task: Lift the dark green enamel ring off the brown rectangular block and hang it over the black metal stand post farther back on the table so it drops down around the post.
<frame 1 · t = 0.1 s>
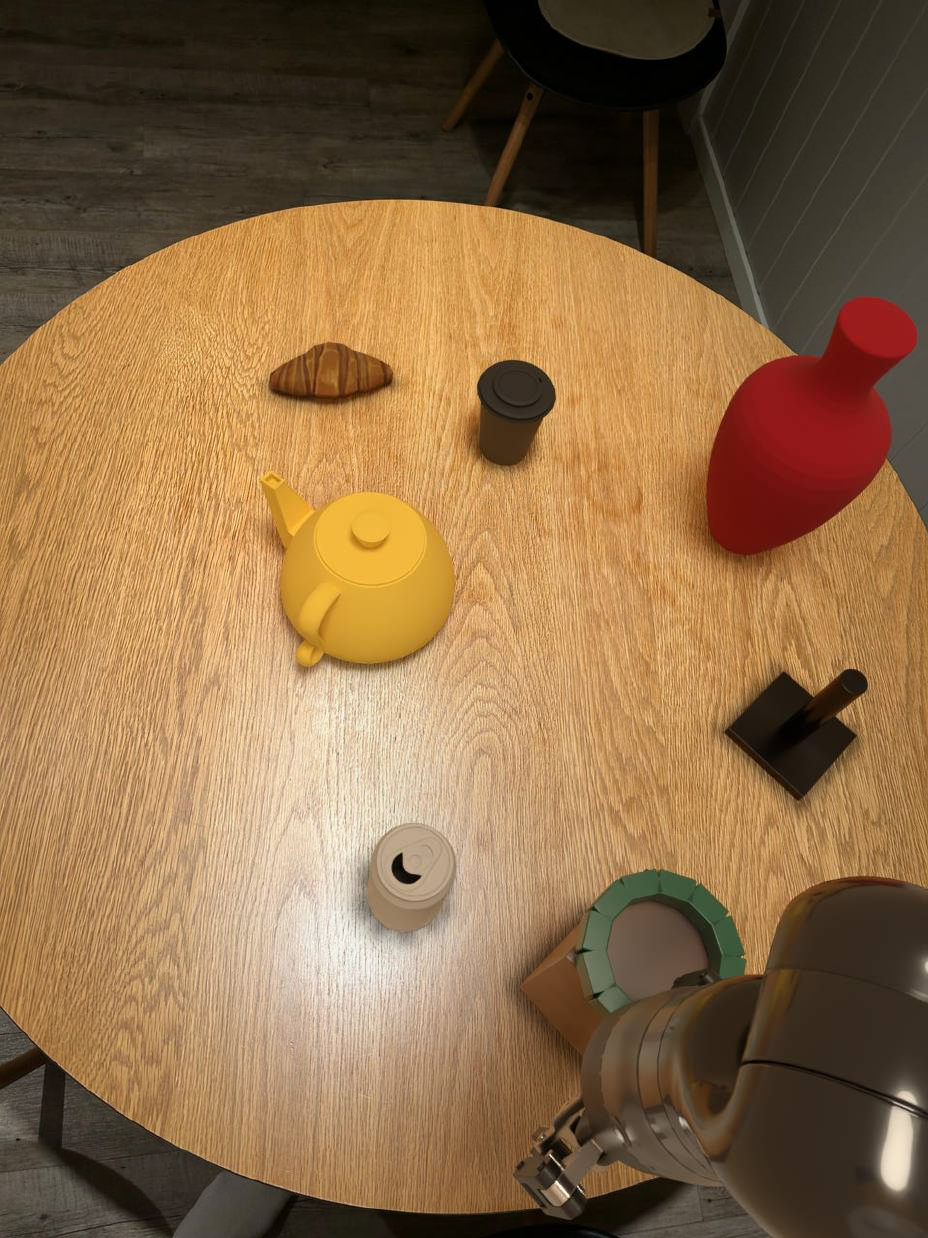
hand: (596, 1088, 55), 20 cm above the table, tool pointing down, fingers open, 8 cm apart
coffee cup: (503, 446, 102), on the table
post: (788, 736, 90), on the table
brown rectangular block: (589, 989, 77), on the table
vase: (737, 530, 101), on the table
beverage can: (404, 894, 79), on the table
croissant: (331, 385, 103), on the table
teapot: (346, 595, 92), on the table
ring: (653, 959, 61), point 18 cm above the table, touching gripper, brown rectangular block
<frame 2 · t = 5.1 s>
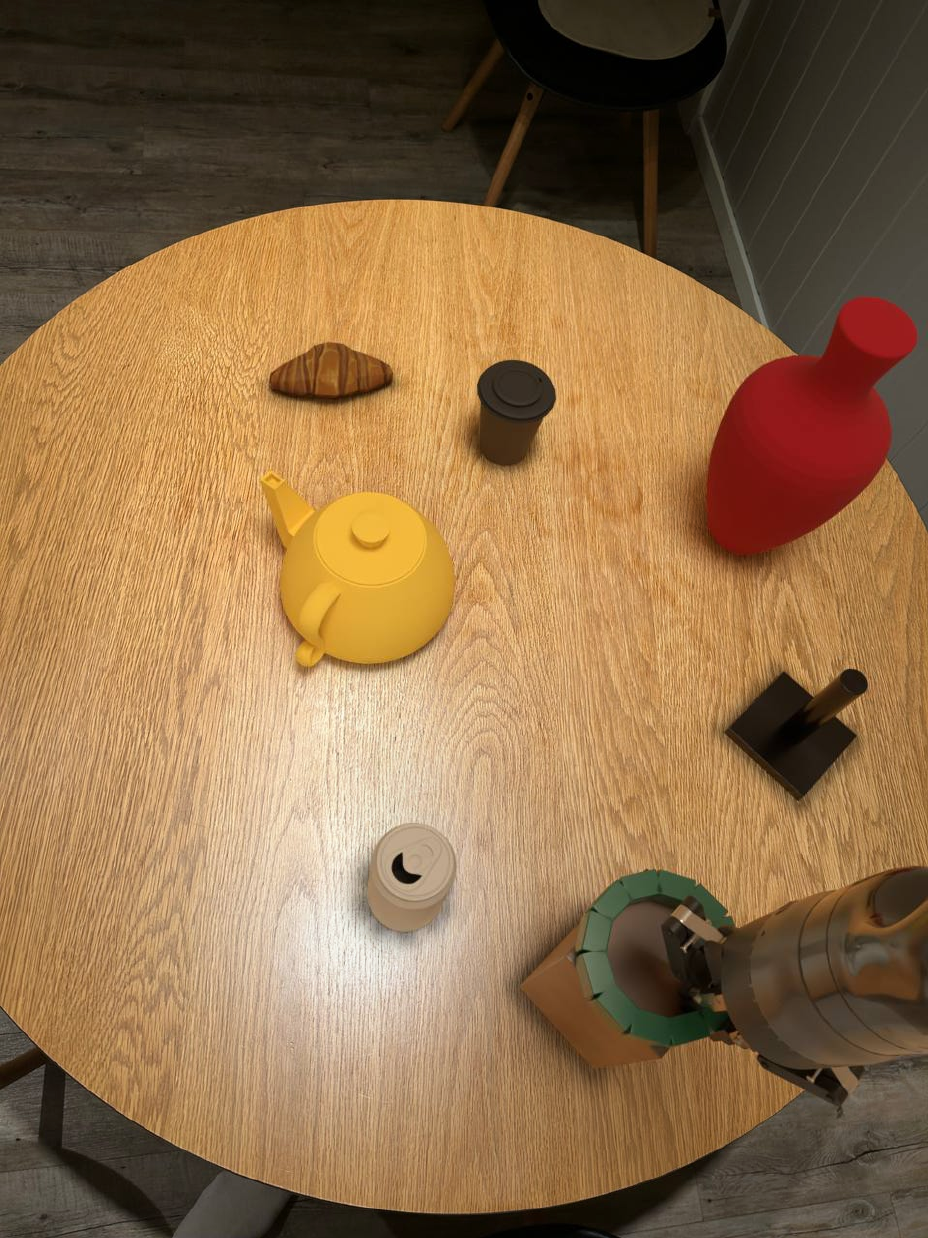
hand: (704, 1011, 60), 18 cm above the table, tool pointing down, fingers closed on ring
ring: (653, 959, 61), point 18 cm above the table, touching gripper
everything else where it was.
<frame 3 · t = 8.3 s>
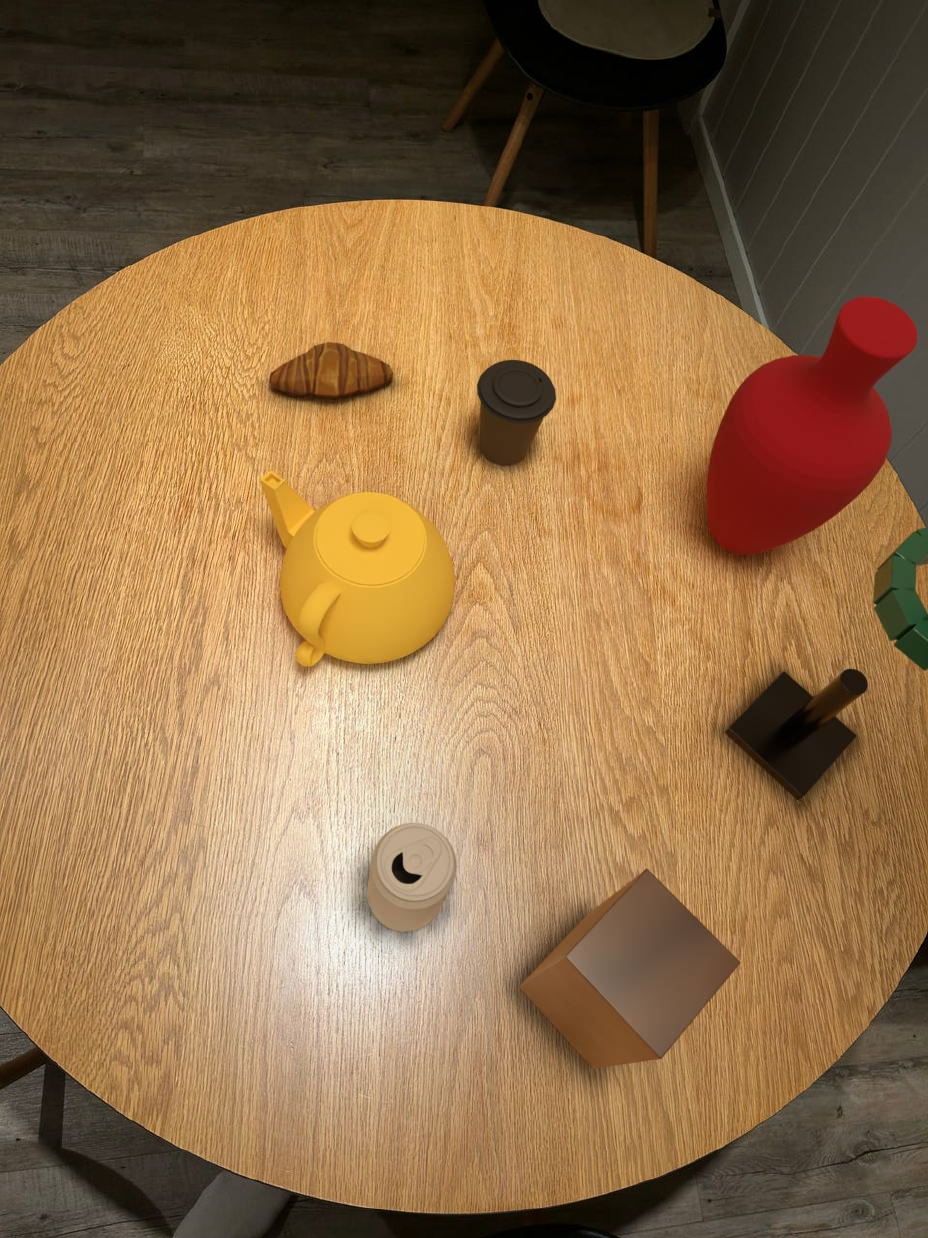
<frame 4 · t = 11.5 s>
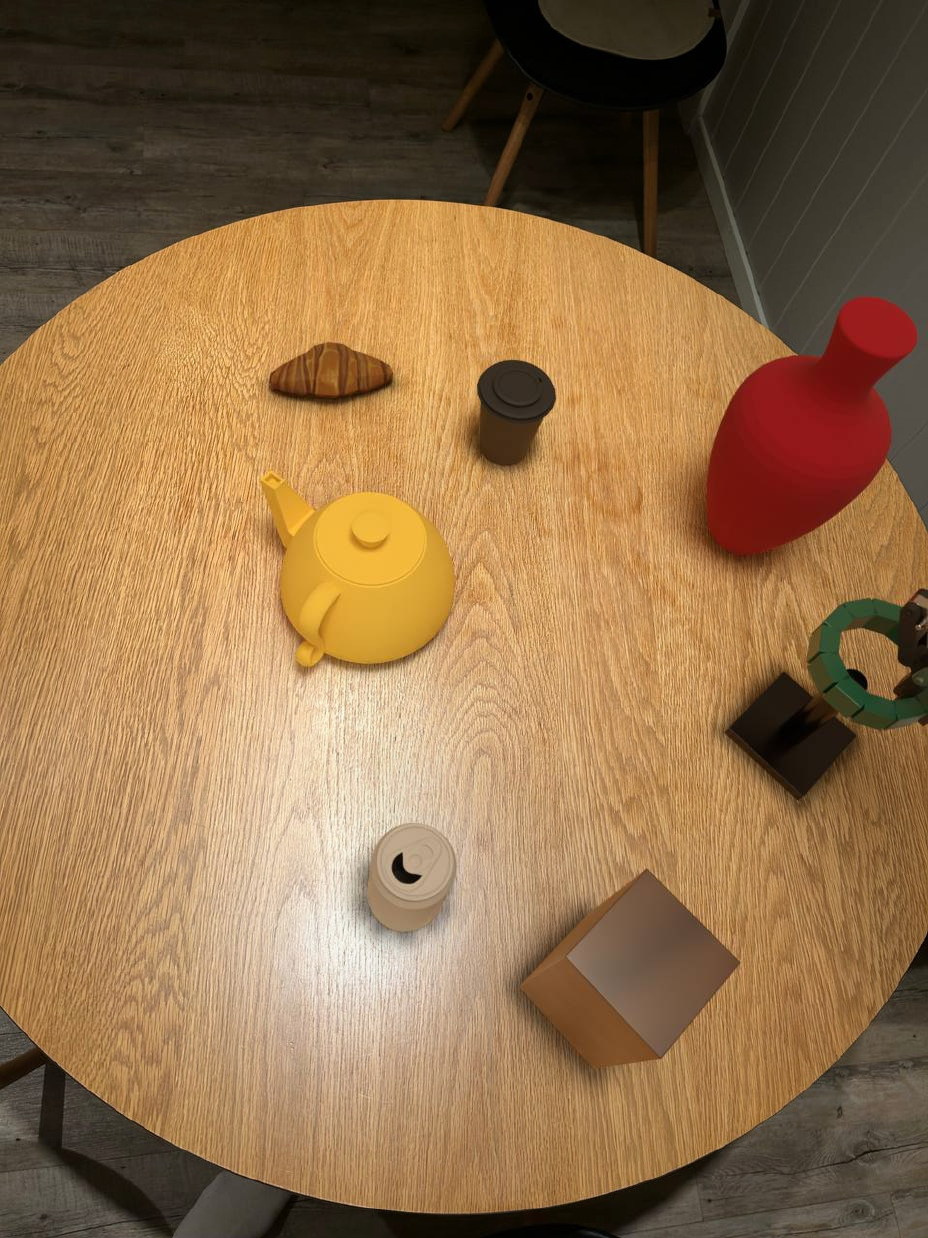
hand: (914, 706, 75), 16 cm above the table, tool pointing down, fingers closed on ring, 1 cm apart
ring: (869, 669, 76), point 16 cm above the table, touching gripper
everything else where it was.
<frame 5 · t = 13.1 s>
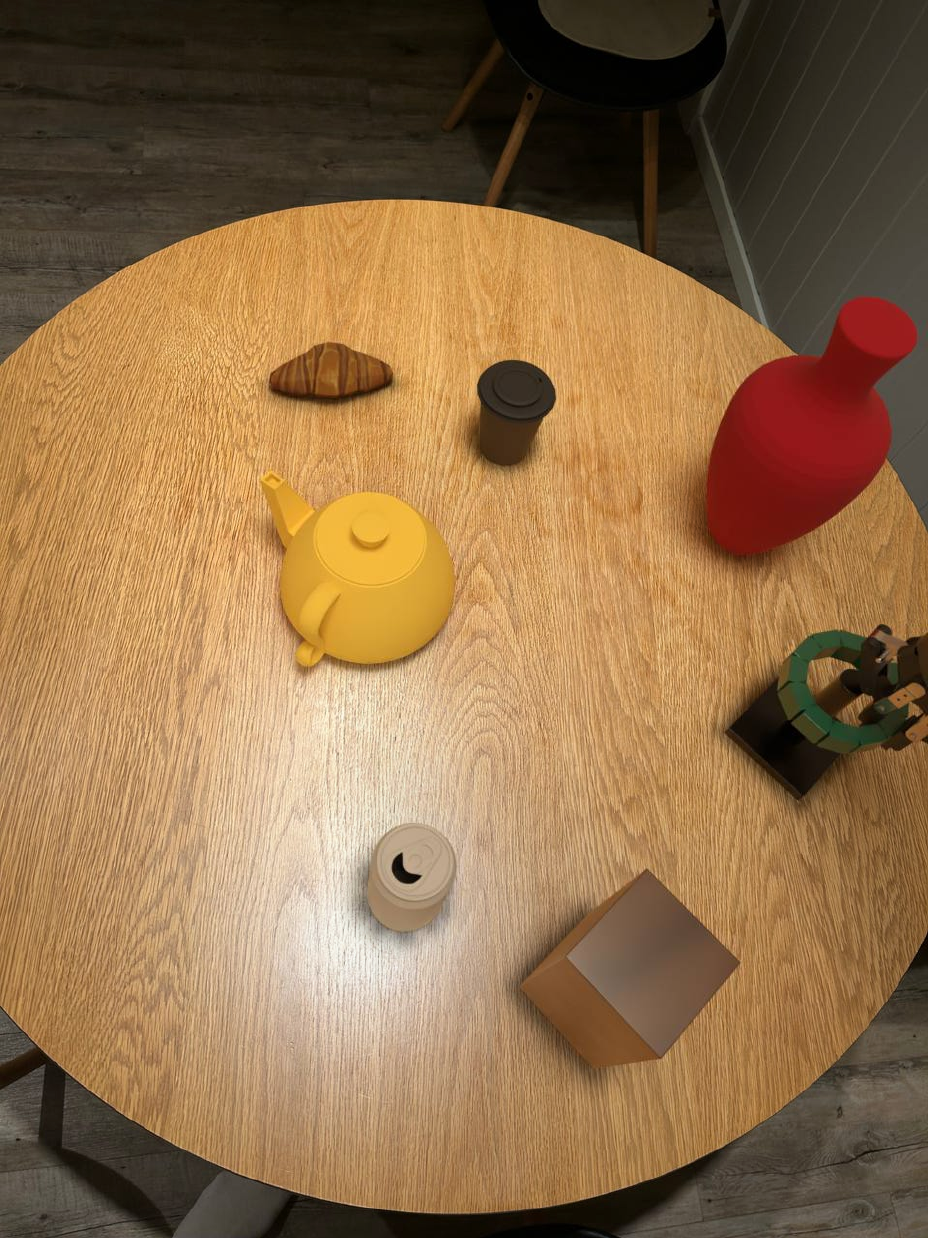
hand: (877, 731, 80), 10 cm above the table, tool pointing down, fingers closed on ring
ring: (836, 696, 81), point 10 cm above the table, touching gripper
everything else where it was.
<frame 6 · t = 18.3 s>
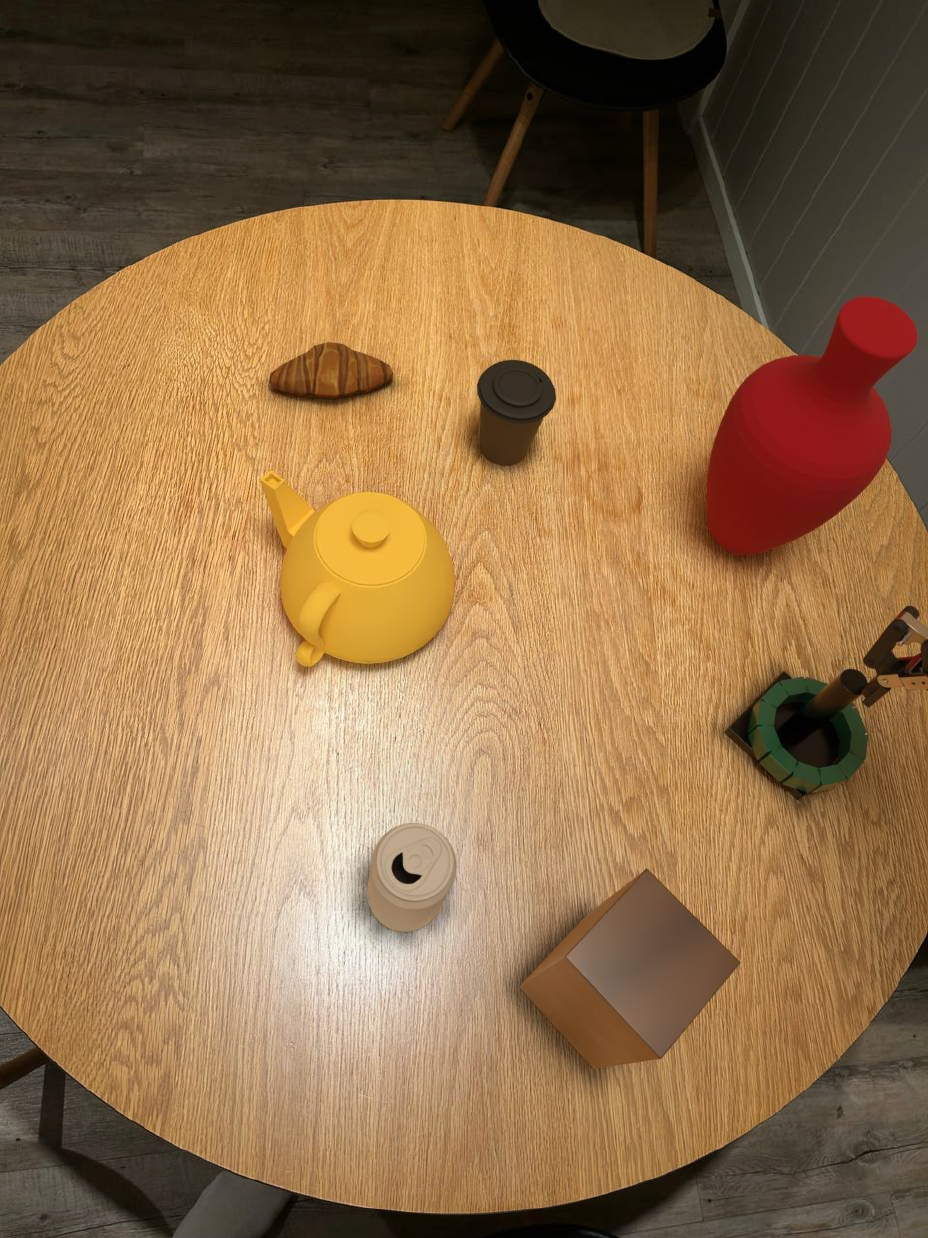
hand: (905, 727, 77), 13 cm above the table, tool pointing down, fingers open, 6 cm apart
ring: (801, 738, 89), point 1 cm above the table, touching post
everything else where it was.
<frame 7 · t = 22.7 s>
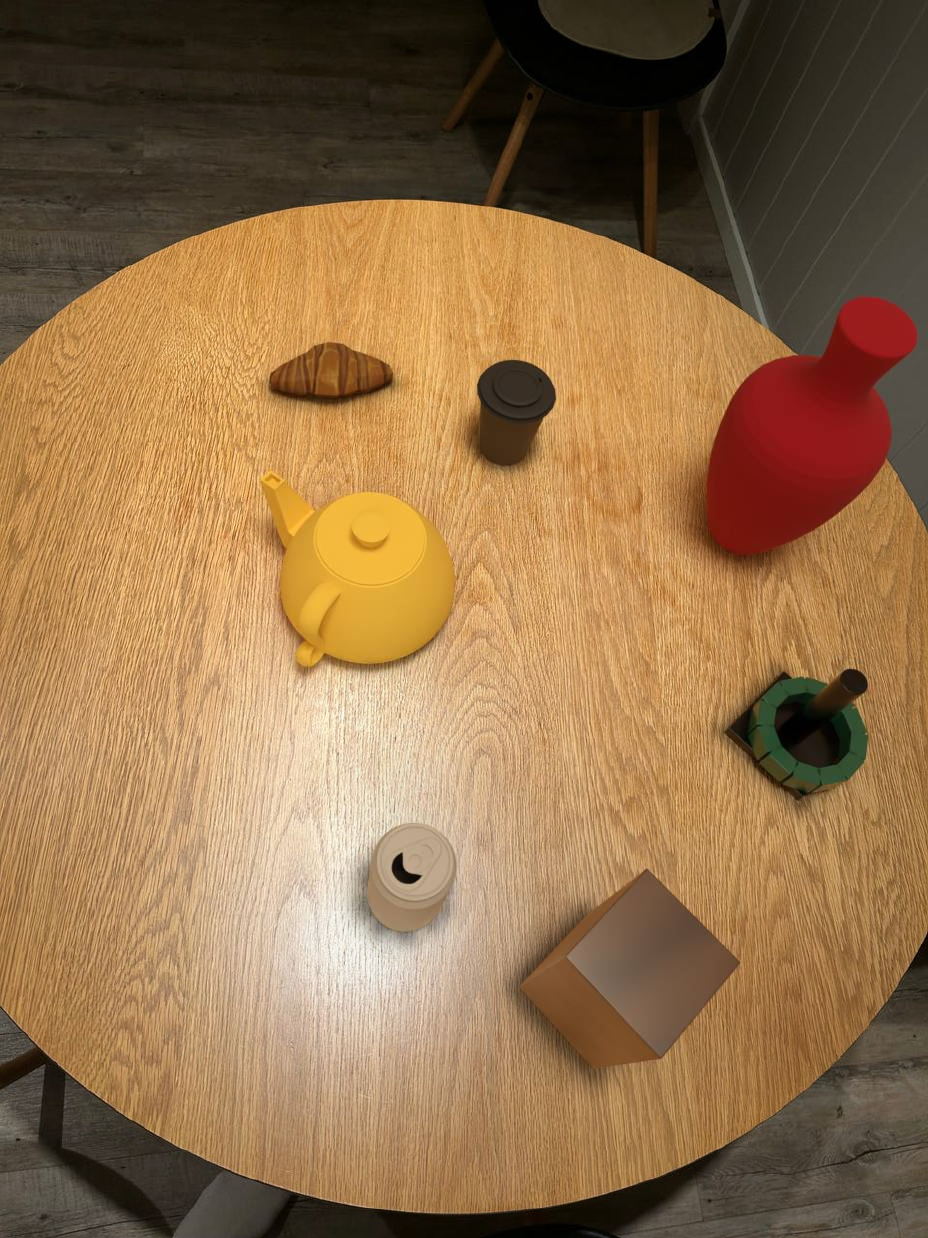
nothing on the table moved.
at the end: ring 0.9 cm off-centre on the post, point 1.2 cm above the post's base; the gripper is holding nothing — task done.
